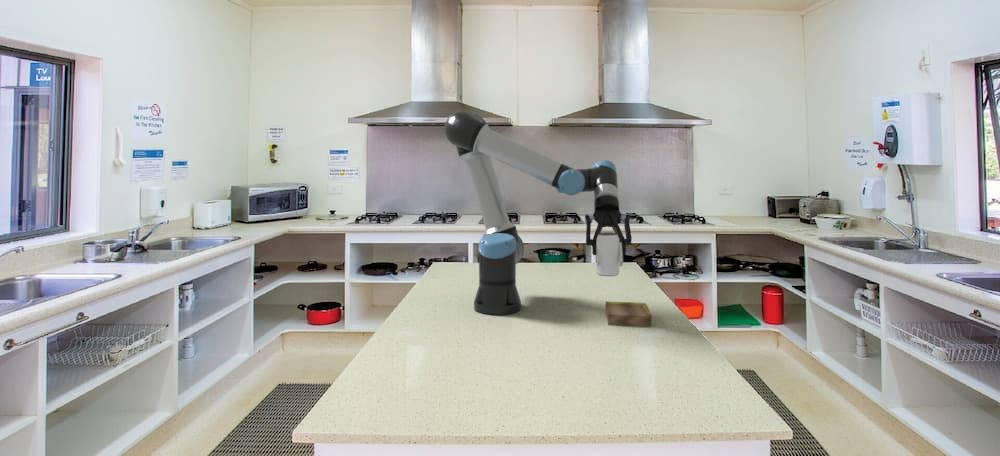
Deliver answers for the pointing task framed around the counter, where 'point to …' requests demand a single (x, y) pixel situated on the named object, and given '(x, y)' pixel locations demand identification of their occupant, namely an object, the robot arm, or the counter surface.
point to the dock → (628, 314)
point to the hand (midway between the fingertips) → (609, 263)
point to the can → (608, 254)
